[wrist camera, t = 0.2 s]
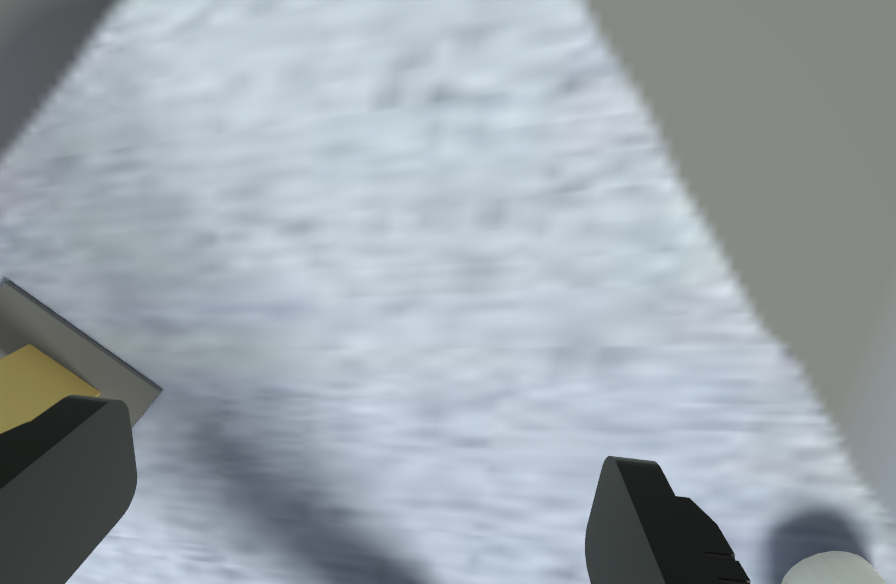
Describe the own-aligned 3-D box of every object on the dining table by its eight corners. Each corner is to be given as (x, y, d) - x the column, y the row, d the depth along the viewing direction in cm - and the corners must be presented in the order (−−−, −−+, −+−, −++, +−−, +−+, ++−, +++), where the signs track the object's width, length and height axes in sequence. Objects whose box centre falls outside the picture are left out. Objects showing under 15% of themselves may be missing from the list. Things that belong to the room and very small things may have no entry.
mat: (8, 280, 40) (4, 282, 39) (162, 389, 42) (159, 392, 42) (-89, 437, 45) (-93, 439, 45) (53, 524, 48) (50, 527, 48)
